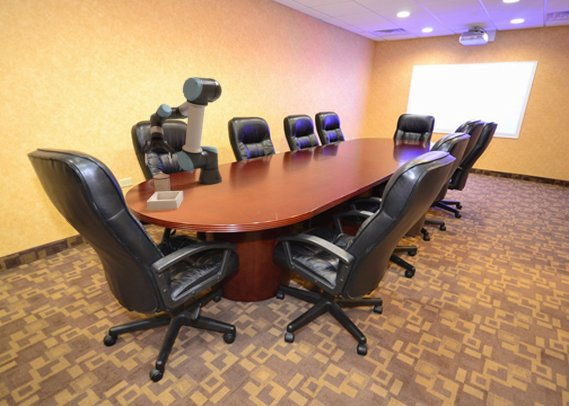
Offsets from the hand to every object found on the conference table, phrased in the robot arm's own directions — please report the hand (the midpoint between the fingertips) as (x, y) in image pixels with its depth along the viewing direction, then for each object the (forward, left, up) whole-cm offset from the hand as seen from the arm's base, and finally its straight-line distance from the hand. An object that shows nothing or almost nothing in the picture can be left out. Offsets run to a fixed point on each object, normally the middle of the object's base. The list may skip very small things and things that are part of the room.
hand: (158, 163), depth 188 cm
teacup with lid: (-2, +10, -15) cm, 18 cm away
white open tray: (-11, +35, -15) cm, 40 cm away
